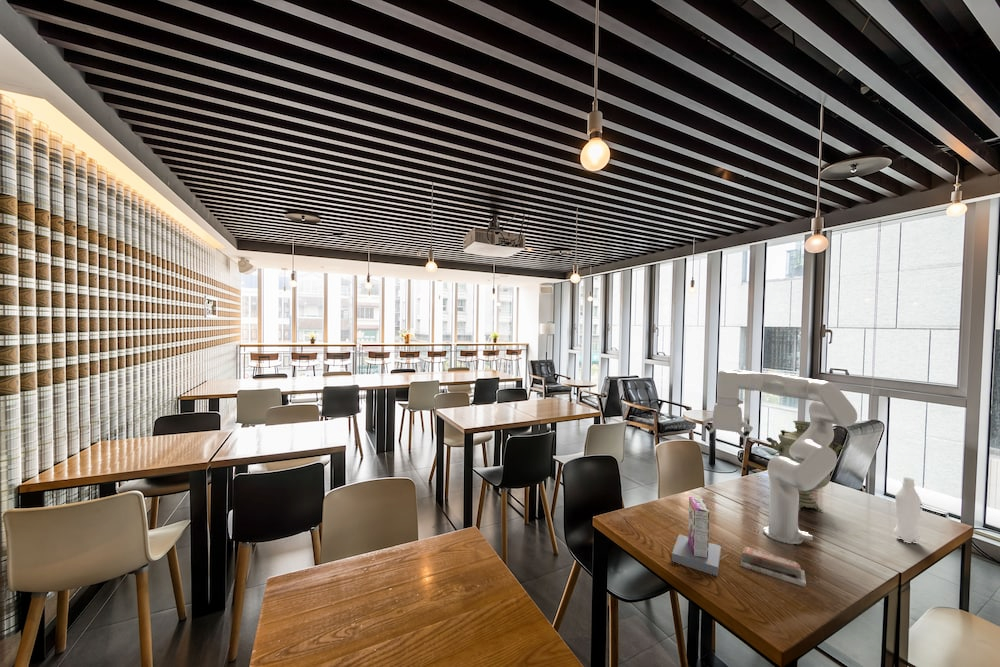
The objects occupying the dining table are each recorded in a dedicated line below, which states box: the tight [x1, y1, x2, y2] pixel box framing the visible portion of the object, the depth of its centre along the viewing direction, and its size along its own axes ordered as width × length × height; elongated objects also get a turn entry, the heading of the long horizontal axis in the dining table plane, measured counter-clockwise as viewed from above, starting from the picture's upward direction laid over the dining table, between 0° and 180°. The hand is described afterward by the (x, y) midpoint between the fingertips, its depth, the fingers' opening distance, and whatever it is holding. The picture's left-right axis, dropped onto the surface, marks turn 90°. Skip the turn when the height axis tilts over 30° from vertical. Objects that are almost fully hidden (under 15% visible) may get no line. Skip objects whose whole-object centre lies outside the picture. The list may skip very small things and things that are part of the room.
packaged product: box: [740, 546, 807, 588], centre depth 134 cm, size 18×5×10 cm
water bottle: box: [893, 476, 922, 543], centre depth 157 cm, size 7×7×25 cm
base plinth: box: [671, 533, 722, 577], centre depth 139 cm, size 14×16×3 cm
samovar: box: [765, 420, 845, 512], centre depth 185 cm, size 30×26×40 cm
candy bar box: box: [687, 496, 710, 558], centre depth 139 cm, size 11×5×16 cm, turn 163°
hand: (726, 444), depth 156 cm, fingers open, 9 cm apart
